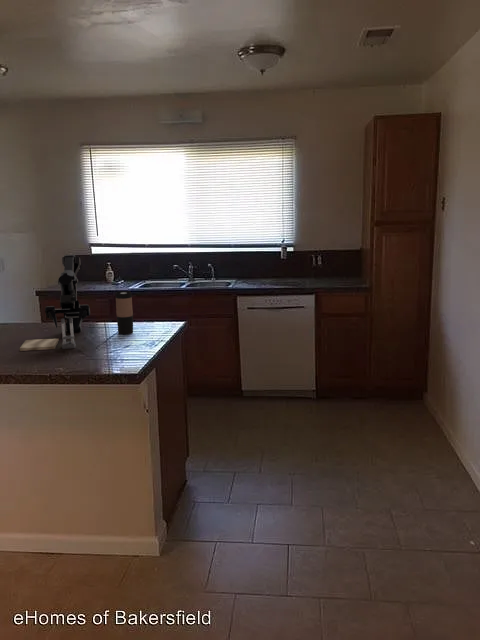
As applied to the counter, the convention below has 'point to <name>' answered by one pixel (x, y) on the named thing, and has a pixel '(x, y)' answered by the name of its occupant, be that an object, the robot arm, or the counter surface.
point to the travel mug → (124, 312)
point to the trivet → (39, 344)
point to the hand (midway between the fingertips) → (67, 327)
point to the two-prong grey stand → (69, 343)
